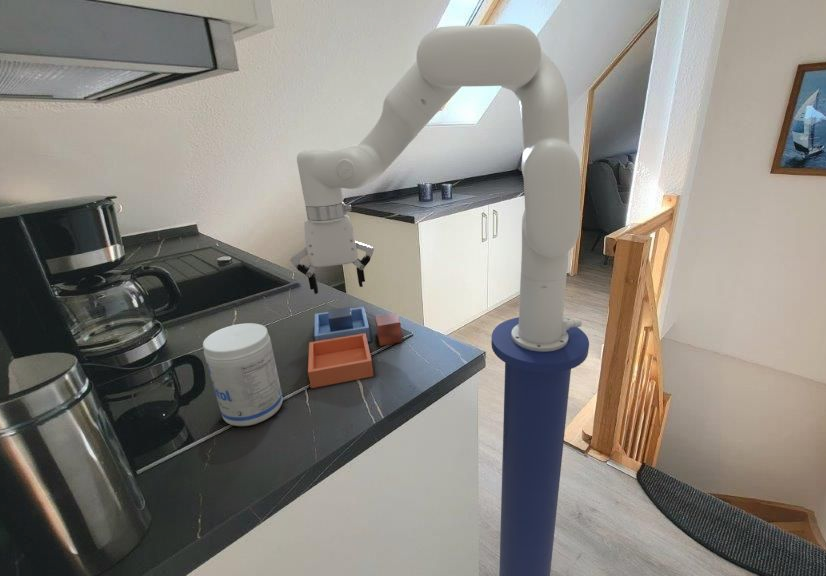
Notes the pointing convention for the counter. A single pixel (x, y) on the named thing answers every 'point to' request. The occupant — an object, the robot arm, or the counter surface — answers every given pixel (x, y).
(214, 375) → the supplement tub
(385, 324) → the terracotta block
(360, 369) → the terracotta bin
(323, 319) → the blue bin
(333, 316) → the blue block
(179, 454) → the counter surface
